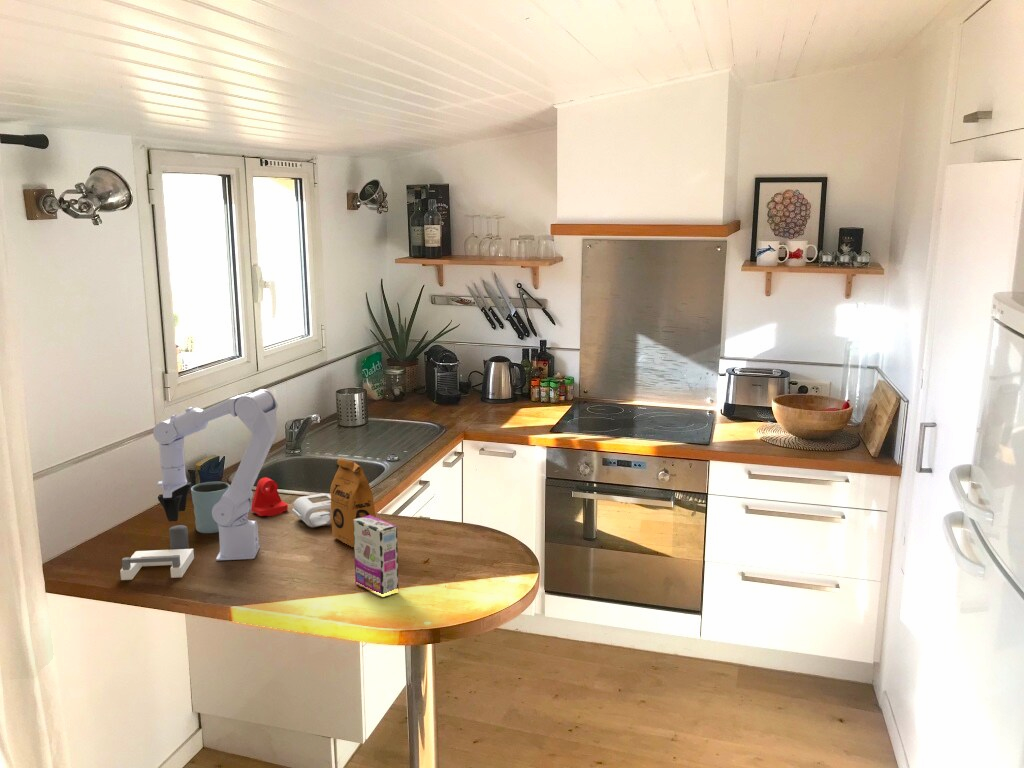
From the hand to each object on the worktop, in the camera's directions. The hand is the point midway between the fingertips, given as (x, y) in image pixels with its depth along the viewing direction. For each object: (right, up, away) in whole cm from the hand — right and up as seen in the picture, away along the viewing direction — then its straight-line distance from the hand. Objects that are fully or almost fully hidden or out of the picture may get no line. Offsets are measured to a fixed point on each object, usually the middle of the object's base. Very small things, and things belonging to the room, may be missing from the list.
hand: (176, 515), depth 220 cm
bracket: (+16, -4, +30) cm, 34 cm away
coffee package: (+45, -8, +8) cm, 46 cm away
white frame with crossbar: (-1, -12, -10) cm, 15 cm away
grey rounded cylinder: (0, -9, +2) cm, 9 cm away
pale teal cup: (+3, -6, +18) cm, 19 cm away
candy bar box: (+55, -14, -21) cm, 61 cm away
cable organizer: (+32, -6, +22) cm, 39 cm away
